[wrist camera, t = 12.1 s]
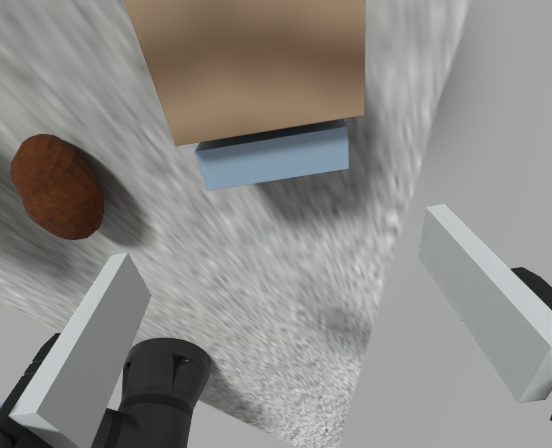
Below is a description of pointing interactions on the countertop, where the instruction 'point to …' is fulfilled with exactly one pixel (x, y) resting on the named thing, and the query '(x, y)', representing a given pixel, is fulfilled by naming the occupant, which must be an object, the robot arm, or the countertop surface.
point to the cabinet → (252, 63)
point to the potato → (57, 187)
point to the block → (274, 154)
